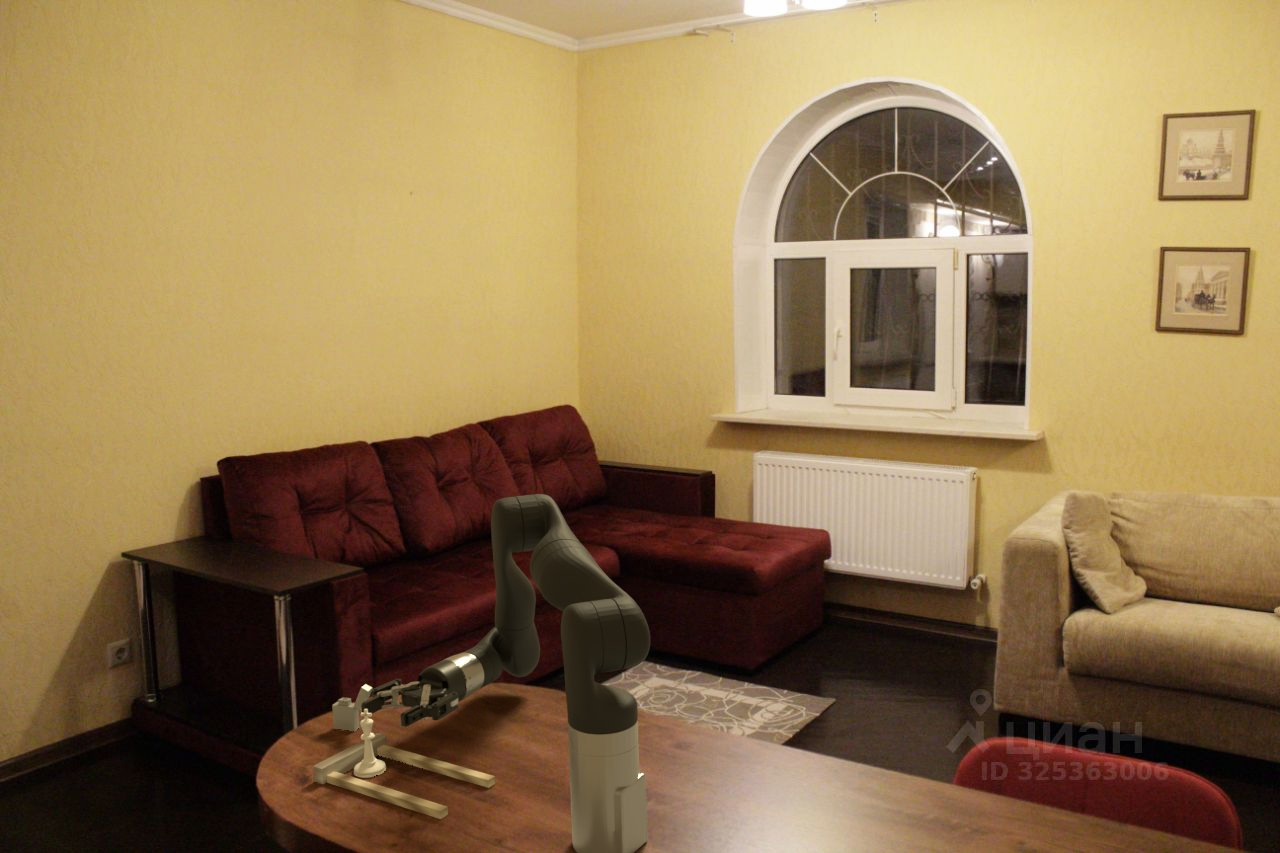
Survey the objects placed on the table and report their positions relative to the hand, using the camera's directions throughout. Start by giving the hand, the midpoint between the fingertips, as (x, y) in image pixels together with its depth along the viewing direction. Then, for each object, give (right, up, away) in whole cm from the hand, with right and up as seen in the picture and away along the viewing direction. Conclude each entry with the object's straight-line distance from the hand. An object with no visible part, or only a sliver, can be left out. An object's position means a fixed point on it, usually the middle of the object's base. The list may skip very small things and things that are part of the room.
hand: (382, 715), depth 165 cm
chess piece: (-2, -8, -2) cm, 9 cm away
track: (+5, -8, -6) cm, 12 cm away
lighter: (-8, -6, +14) cm, 17 cm away
